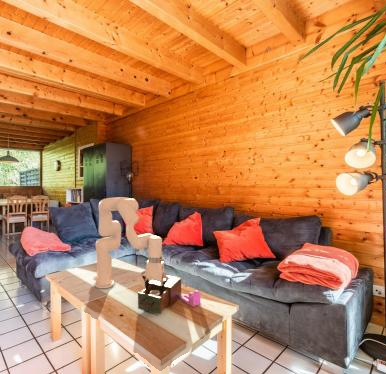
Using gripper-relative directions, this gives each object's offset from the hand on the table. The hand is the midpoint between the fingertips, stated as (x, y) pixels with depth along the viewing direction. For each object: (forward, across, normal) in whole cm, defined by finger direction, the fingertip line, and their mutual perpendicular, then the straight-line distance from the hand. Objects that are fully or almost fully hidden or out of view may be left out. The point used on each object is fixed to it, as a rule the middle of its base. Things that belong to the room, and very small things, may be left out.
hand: (154, 289), depth 141 cm
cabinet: (+10, -1, -13) cm, 16 cm away
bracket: (+10, -15, -16) cm, 24 cm away
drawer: (+9, -1, +2) cm, 9 cm away
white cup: (+8, 0, 0) cm, 8 cm away
